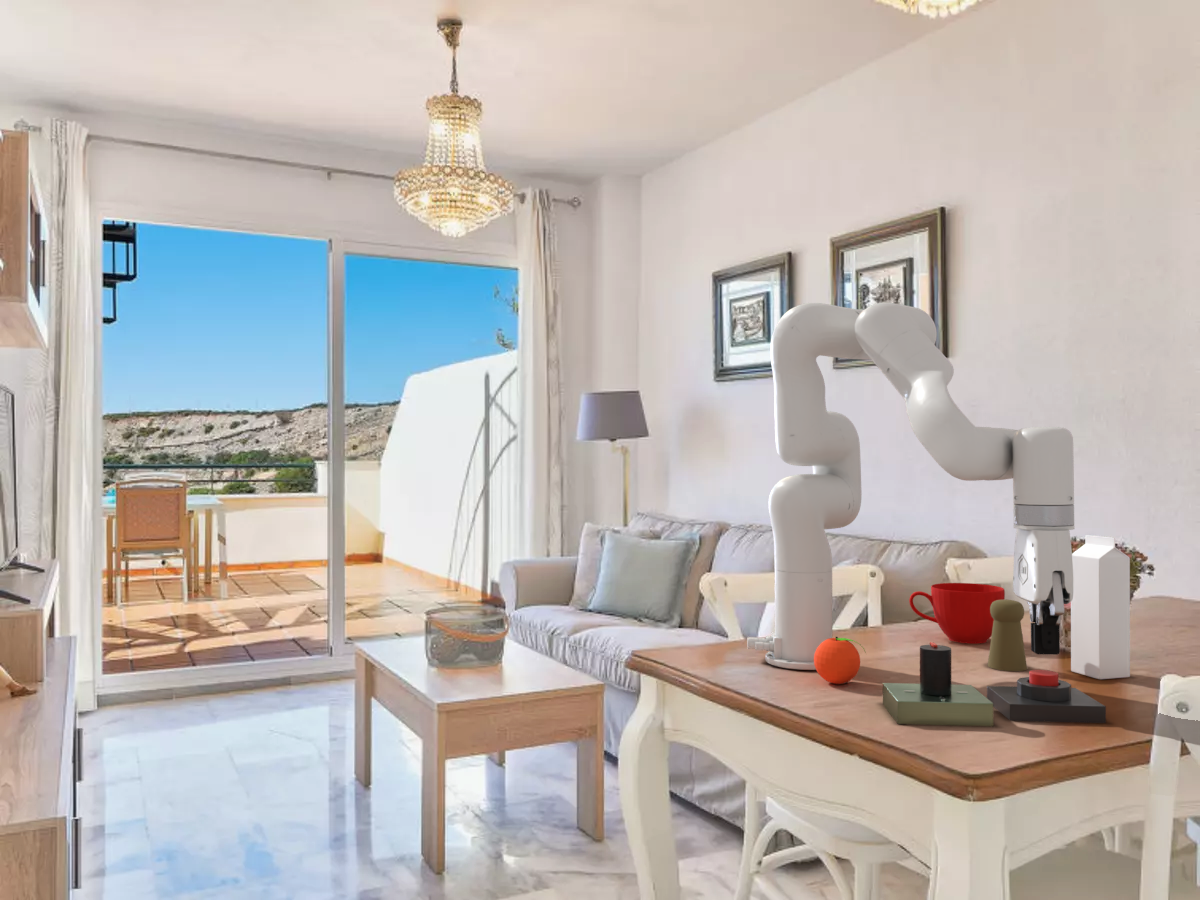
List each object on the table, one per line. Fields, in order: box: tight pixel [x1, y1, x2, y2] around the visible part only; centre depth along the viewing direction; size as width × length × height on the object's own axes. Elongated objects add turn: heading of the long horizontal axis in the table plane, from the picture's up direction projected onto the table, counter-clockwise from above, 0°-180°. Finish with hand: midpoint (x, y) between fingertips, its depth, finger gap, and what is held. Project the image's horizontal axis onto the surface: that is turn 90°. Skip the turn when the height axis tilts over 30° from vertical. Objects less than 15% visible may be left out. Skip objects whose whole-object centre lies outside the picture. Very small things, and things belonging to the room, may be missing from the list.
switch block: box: [986, 676, 1107, 724], centre depth 129 cm, size 12×10×4 cm
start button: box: [1028, 669, 1059, 686], centre depth 130 cm, size 4×4×2 cm
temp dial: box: [919, 641, 952, 696], centre depth 128 cm, size 4×4×6 cm
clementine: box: [814, 636, 867, 685], centre depth 146 cm, size 8×7×7 cm
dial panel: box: [882, 682, 994, 727], centre depth 128 cm, size 12×10×3 cm
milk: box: [1070, 534, 1131, 680], centre depth 152 cm, size 6×6×22 cm
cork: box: [987, 598, 1028, 672], centre depth 157 cm, size 6×6×11 cm
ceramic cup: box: [908, 582, 1006, 645], centre depth 180 cm, size 13×17×10 cm
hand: (1045, 653), depth 129 cm, fingers closed
